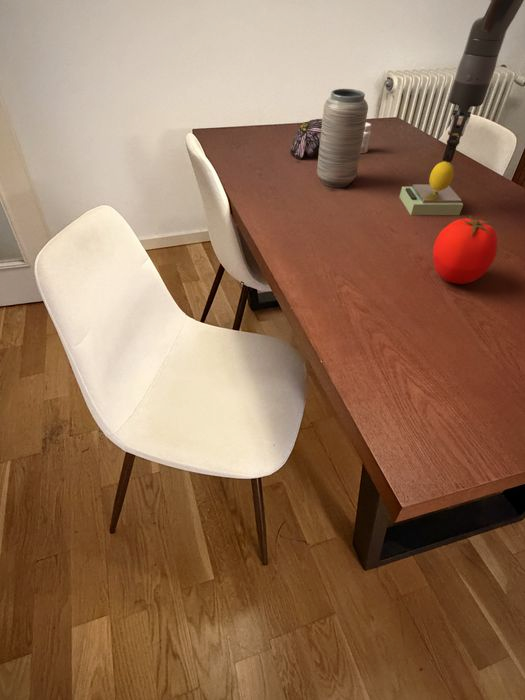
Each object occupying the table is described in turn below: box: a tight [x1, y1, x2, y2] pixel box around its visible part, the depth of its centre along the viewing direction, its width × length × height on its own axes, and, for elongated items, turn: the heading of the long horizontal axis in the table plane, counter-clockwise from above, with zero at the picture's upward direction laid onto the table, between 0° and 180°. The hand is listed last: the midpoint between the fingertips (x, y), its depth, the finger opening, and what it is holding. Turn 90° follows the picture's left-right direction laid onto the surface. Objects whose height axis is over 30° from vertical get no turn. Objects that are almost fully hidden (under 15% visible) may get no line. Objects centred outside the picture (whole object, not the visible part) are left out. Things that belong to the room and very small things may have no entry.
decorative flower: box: [289, 118, 323, 161], centre depth 133 cm, size 15×12×15 cm
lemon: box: [428, 161, 455, 192], centre depth 104 cm, size 6×6×8 cm
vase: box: [316, 88, 369, 188], centre depth 112 cm, size 12×12×23 cm
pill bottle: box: [360, 122, 372, 154], centre depth 136 cm, size 5×5×8 cm
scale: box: [398, 186, 464, 216], centre depth 108 cm, size 13×11×4 cm
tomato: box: [432, 215, 498, 285], centre depth 80 cm, size 12×12×13 cm
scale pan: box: [411, 183, 463, 203], centre depth 107 cm, size 10×10×1 cm
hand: (448, 155), depth 100 cm, fingers open, 8 cm apart
